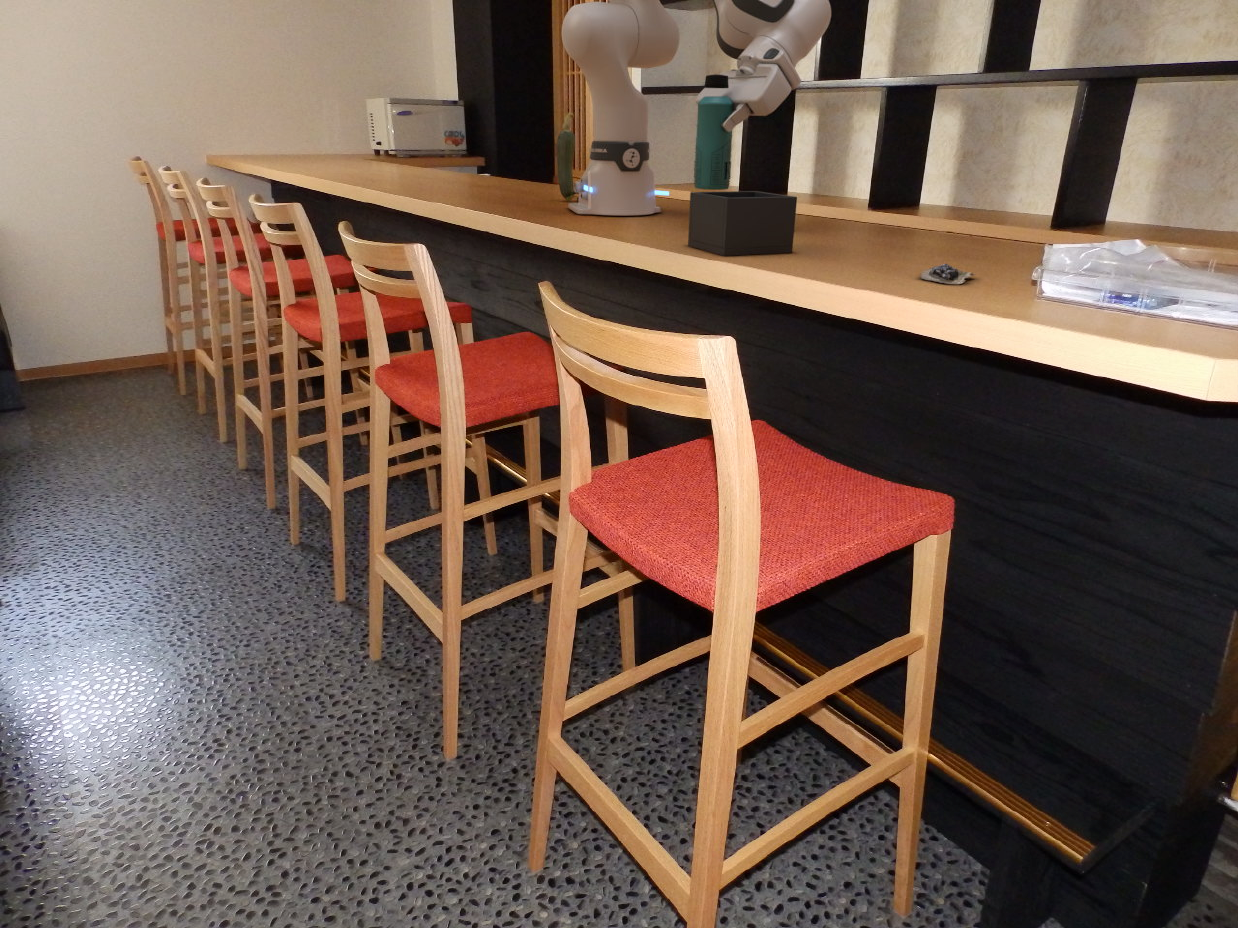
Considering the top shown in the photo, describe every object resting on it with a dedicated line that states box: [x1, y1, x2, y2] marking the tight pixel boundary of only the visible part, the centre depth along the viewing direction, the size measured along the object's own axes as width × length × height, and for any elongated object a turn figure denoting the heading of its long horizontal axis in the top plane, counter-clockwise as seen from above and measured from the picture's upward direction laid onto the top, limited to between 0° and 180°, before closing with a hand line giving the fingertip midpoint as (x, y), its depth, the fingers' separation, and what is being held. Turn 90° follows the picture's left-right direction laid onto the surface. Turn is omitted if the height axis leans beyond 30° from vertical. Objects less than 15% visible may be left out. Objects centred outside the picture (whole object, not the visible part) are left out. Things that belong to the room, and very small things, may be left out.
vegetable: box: [556, 111, 576, 202], centre depth 200 cm, size 4×4×20 cm
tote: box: [687, 190, 798, 257], centre depth 127 cm, size 12×12×8 cm
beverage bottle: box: [693, 73, 734, 191], centre depth 147 cm, size 6×7×20 cm
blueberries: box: [920, 263, 975, 285], centre depth 105 cm, size 7×8×2 cm
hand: (711, 128), depth 146 cm, fingers closed on beverage bottle, 6 cm apart
